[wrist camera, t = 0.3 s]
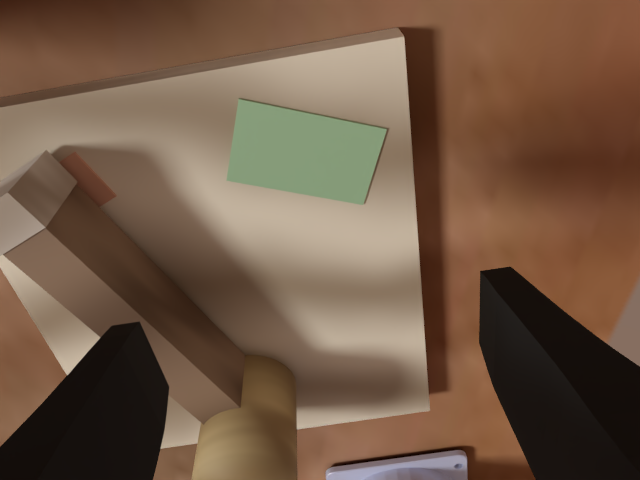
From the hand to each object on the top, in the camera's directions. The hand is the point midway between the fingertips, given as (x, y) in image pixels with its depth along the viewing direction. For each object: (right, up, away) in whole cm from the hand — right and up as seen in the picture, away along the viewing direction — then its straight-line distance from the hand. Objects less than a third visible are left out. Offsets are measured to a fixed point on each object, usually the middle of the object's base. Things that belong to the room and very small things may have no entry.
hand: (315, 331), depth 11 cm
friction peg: (-6, -1, +10) cm, 12 cm away
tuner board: (-4, 0, +11) cm, 12 cm away
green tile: (0, +5, +7) cm, 9 cm away
